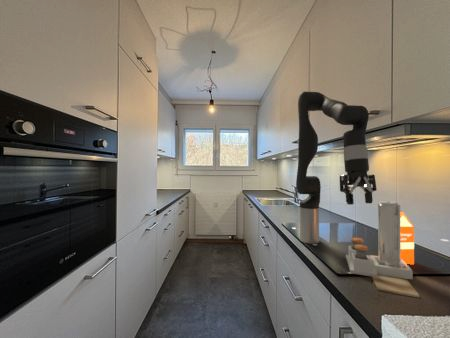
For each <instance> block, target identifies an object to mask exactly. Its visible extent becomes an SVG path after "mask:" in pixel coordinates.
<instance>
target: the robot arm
mask: <svg viewBox="0 0 450 338" xmlns="http://www.w3.org/2000/svg"><path fill="white" fill-rule="evenodd" d="M297 109H298V111H297V112H298V141H297V142H298V144H297V145H298V146H297V147H298V148H297V151H298V153H297V154H298V159H297V171H296V181H295V183H296V185H295V187H296V192H297V193H298V194H299V195H308V196H307V198H305V199H303V200H300V202H299V241H301V242H302V243H303V244H304V243H305V244H313V245H314V244H319V243H320V204H321V191H322V190H321V180H320V178H319V177H318V176H315V175H308V176H307V174H308V169H309V165H310V164H311V162H312V161H313V159H314V157H315V156H316V155H317V152H318V148H319V136H318V134H317V132H316V130H315V128H314V126H313V125H312V123H311V121H310V117H309V116H310V115H309V112H317V111H319V112H322V113H323V114H324V116H326V117H329V118H331V119H333V120H334V121H335V122H336V123H337V124H340V125H342V126H343V125H344V126H352V128H351V130H347V131H345V132H344V133H343V135H342V141H343V164H344V171H345V173H346V174H342V175H341V174H340V175H339V191H340V193H344V194H345V202H346V204H347V205H354V203H355V202H354V193H353V192H354V190H355V189H356V188H357V187H358V188H360V189H362V190H363V192H364V201H365V203H366V204H373V201H374V200H373V192H376V191H377V190H378V189H377V182H376V175H375V174H368V171H369V170H370V165H369V154H368V148H367V142H366V133H367V126H368V122H369V117H370V116H369V115H370V114H369V110H368V109H367V107H365V106H364V105H354V104H353V105H352V104H351V105H349V104H347V103H346V102H343V101H340V100H336V99H332V98H329V97H328V96H326V95H325V94H323V93H322V92H318V91H302V92H301V93H300V94H299V96H298V100H297Z"/></svg>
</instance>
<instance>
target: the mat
mask: <svg viewBox="0 0 450 338" xmlns="http://www.w3.org/2000/svg"><path fill="white" fill-rule="evenodd" d="M370 277H371V279H372V281H373V283H374V285H375V287H376V289H377V291H379V292H386V293H389V294H397V295H400V296H401V295H402V296H407V297H414V298H420V294H419V293H418V292H417V291H416V289H415V288H414V287H413V286H412V285H411V283H410V282H409V279H404V278H397V277H390V276H384V275H379V274H377V275H371V276H370Z"/></svg>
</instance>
